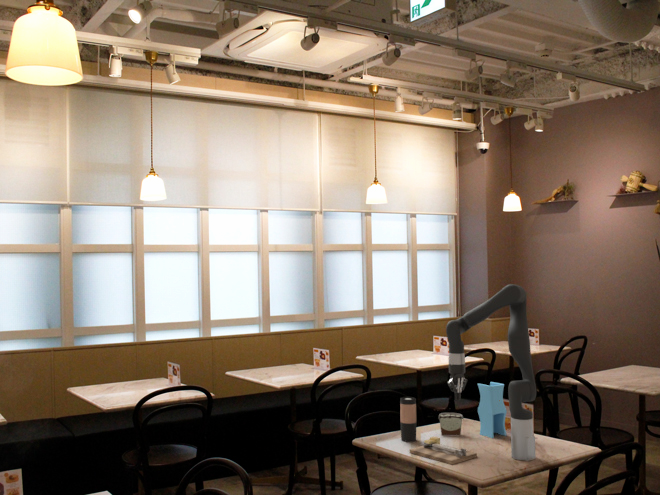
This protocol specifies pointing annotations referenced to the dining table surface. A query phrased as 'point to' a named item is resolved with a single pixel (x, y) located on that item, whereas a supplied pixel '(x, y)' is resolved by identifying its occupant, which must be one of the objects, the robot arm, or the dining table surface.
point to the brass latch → (432, 440)
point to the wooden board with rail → (443, 454)
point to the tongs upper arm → (443, 447)
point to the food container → (450, 424)
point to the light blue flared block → (492, 409)
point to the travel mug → (408, 418)
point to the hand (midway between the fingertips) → (457, 400)
